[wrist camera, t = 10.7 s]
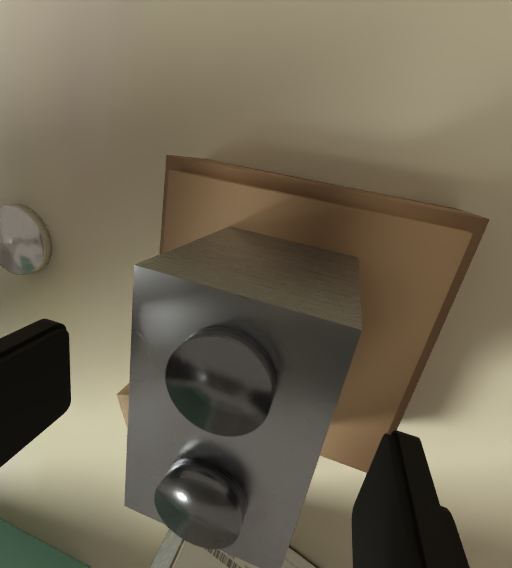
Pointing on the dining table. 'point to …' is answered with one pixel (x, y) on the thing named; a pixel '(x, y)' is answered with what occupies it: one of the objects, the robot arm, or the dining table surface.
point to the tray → (372, 269)
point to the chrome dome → (23, 240)
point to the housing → (236, 385)
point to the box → (30, 551)
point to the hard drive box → (209, 556)
